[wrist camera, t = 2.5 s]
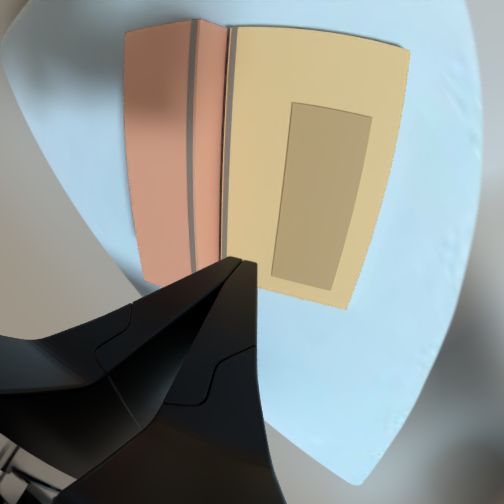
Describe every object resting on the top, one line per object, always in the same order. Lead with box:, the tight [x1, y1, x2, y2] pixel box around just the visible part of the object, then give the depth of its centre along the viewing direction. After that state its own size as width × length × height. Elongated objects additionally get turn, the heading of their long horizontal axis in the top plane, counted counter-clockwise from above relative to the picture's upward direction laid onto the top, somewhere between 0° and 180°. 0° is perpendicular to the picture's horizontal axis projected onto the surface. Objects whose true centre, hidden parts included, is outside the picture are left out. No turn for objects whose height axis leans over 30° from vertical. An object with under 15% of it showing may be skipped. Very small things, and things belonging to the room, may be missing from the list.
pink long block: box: [124, 19, 228, 287], centre depth 17 cm, size 18×5×4 cm, turn 176°
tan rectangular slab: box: [221, 27, 410, 310], centre depth 17 cm, size 18×10×1 cm, turn 176°
